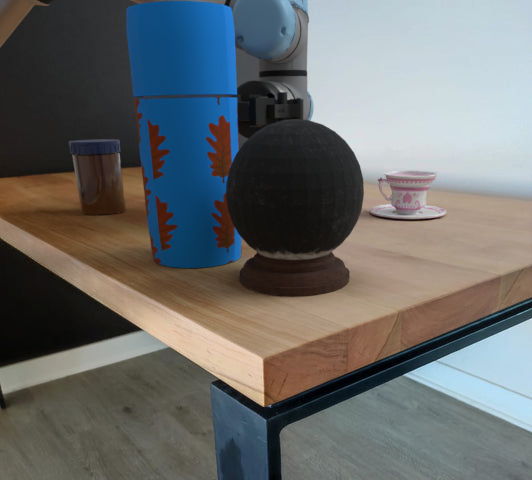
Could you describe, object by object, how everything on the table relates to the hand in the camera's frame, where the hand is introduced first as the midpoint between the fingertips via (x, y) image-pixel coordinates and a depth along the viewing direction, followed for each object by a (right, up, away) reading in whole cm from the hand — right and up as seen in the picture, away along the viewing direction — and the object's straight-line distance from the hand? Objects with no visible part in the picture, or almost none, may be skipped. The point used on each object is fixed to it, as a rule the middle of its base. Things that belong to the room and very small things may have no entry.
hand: (195, 112), depth 60 cm
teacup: (+31, -4, +27) cm, 41 cm away
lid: (-21, +8, +30) cm, 38 cm away
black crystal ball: (+11, -19, -4) cm, 22 cm away
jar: (-20, -2, +35) cm, 40 cm away
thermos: (0, -15, +5) cm, 16 cm away
